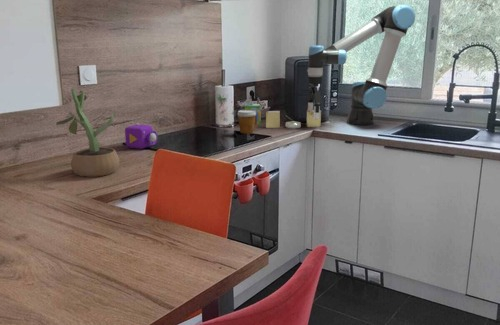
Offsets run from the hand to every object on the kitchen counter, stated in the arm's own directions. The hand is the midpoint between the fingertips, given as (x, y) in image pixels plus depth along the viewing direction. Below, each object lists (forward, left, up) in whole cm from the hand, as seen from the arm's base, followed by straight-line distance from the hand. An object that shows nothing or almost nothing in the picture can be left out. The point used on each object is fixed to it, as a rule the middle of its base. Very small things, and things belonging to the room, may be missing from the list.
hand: (313, 116), depth 251 cm
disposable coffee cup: (+37, +11, -7) cm, 39 cm away
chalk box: (+31, -15, -7) cm, 35 cm away
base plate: (+11, 0, -7) cm, 13 cm away
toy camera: (+86, +32, -7) cm, 92 cm away
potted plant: (+101, +69, -7) cm, 123 cm away
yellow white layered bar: (0, 0, -5) cm, 5 cm away
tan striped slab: (+22, 0, -5) cm, 22 cm away
